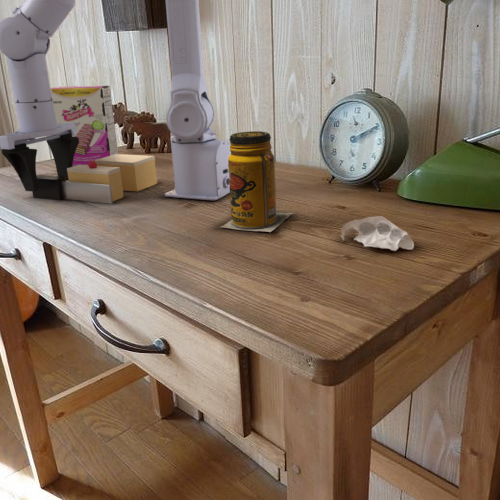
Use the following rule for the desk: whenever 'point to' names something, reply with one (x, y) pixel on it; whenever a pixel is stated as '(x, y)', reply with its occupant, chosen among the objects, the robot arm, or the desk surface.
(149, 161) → the cake
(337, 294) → the desk surface
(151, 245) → the desk surface
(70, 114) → the candy bar box
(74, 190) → the knife
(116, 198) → the cake slice
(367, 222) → the white irregular chunk
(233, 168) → the condiment
